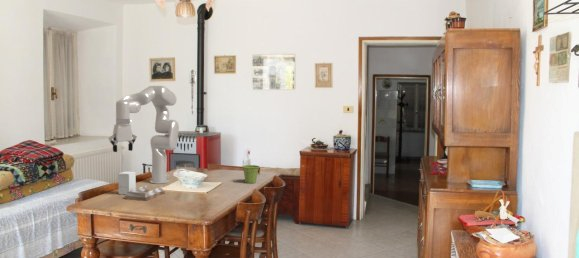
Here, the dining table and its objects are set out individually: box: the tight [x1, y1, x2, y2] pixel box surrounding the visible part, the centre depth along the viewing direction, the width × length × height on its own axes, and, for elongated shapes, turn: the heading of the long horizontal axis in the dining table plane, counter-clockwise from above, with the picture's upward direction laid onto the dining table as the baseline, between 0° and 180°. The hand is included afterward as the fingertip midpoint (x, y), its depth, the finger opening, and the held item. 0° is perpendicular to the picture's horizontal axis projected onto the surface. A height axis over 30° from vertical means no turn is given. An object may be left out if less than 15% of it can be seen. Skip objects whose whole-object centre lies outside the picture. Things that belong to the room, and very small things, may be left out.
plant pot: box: [242, 164, 261, 184], centre depth 320 cm, size 12×12×11 cm
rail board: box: [124, 185, 166, 202], centre depth 274 cm, size 20×14×4 cm
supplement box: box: [117, 171, 137, 196], centre depth 280 cm, size 7×7×13 cm
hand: (122, 151), depth 275 cm, fingers open, 9 cm apart
